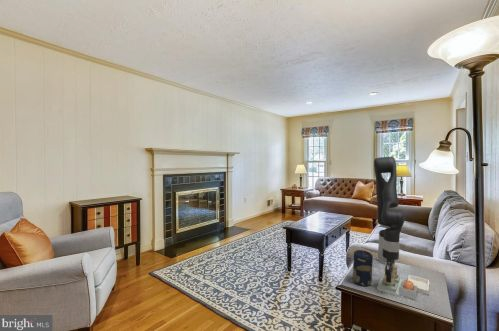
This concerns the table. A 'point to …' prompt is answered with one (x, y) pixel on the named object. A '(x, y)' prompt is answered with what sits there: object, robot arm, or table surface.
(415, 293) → the console
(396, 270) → the billet
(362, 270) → the canister
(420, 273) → the table surface
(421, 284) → the pale shallow tray
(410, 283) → the button
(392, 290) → the board
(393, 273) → the billet
